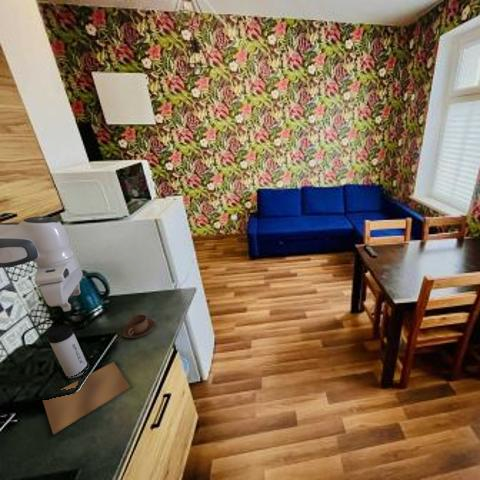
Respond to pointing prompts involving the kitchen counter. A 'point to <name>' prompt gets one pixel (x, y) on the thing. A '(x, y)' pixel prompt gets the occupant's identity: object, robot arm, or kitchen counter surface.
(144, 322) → the cup and saucer
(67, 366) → the travel mug
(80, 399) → the cork mat
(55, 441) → the kitchen counter surface
